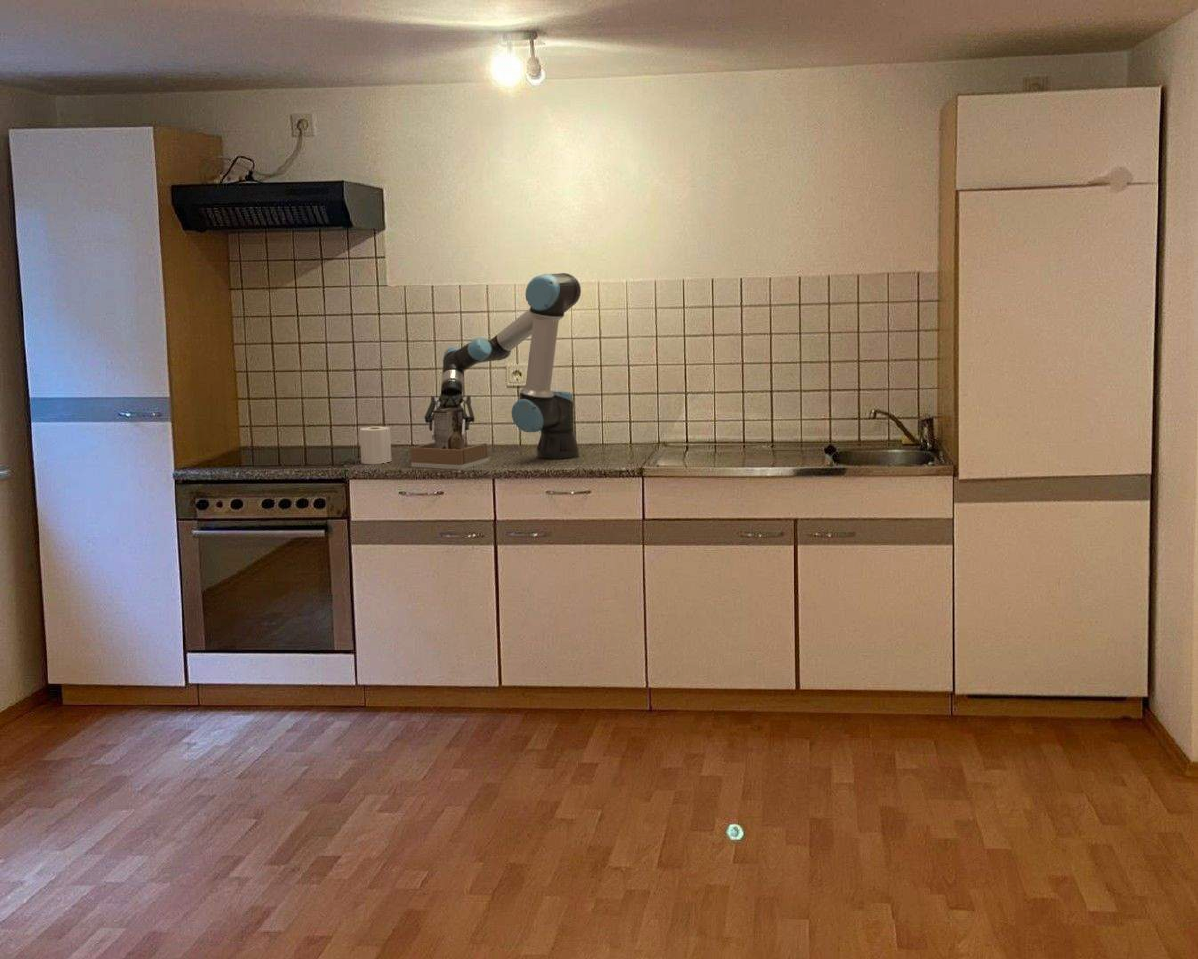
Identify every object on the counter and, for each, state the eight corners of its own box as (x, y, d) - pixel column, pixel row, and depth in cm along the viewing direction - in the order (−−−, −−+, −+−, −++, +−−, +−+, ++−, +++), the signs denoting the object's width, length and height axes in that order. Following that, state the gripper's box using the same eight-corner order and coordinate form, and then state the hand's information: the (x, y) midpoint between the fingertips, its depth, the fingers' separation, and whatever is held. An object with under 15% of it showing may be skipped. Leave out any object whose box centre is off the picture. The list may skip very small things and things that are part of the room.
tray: (488, 461, 508) (488, 443, 507) (461, 469, 493) (460, 450, 492) (440, 459, 517) (439, 440, 516) (411, 466, 501) (410, 448, 500)
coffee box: (451, 453, 510) (449, 407, 507) (465, 454, 506) (463, 408, 504) (434, 457, 503) (432, 410, 500) (448, 458, 499) (446, 411, 496)
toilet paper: (397, 461, 514) (395, 427, 512) (372, 465, 507) (370, 430, 505) (380, 459, 521) (378, 425, 519) (355, 462, 514) (354, 428, 512)
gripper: (484, 392, 516) (481, 442, 503) (421, 393, 517) (417, 444, 504) (482, 378, 510) (479, 429, 497) (418, 380, 511) (414, 431, 498)
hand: (448, 437), depth 500 cm, fingers closed on coffee box, 10 cm apart
